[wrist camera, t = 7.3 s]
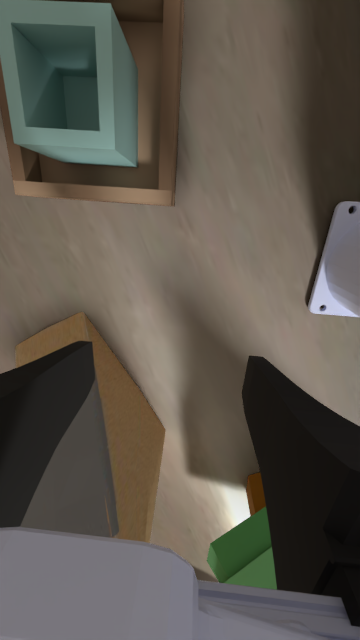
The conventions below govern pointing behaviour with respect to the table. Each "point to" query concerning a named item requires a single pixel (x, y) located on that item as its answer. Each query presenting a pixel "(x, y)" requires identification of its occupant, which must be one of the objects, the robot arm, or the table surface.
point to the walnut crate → (153, 119)
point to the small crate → (70, 81)
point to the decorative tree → (246, 546)
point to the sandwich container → (98, 448)
